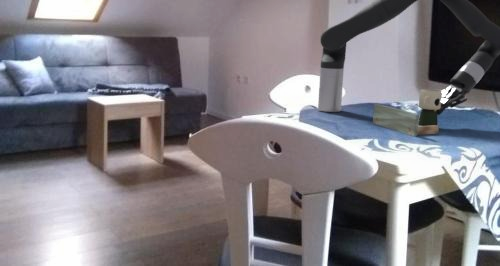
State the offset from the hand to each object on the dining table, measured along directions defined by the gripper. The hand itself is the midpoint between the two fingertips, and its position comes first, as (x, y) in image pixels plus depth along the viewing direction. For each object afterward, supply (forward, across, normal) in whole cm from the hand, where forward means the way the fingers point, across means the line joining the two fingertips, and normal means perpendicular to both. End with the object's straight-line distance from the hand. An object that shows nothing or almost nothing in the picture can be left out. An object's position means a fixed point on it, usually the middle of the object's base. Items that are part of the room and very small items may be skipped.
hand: (435, 113), depth 168 cm
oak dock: (+12, 0, -5) cm, 13 cm away
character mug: (+6, 0, +1) cm, 6 cm away
